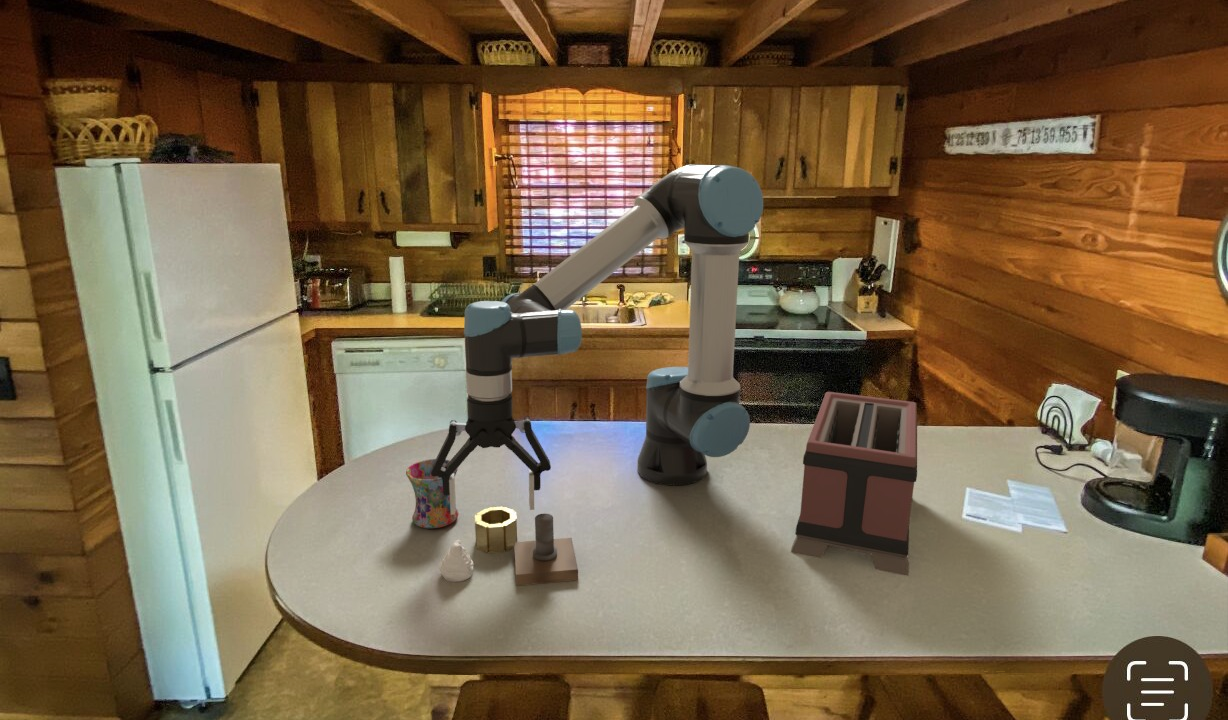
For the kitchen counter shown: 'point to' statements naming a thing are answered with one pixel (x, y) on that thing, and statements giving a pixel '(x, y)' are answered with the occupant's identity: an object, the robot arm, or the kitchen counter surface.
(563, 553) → the shaft block
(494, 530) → the ring
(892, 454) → the toaster
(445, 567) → the garlic bulb
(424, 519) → the mug
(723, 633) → the kitchen counter surface
